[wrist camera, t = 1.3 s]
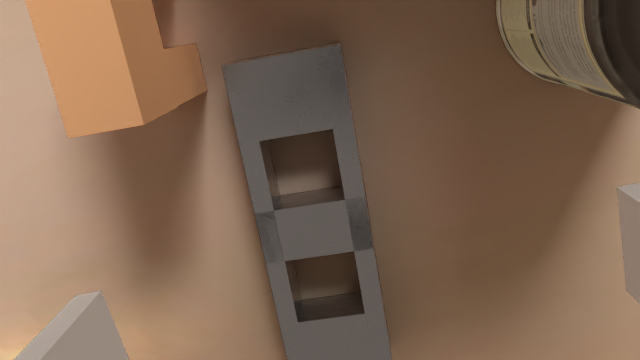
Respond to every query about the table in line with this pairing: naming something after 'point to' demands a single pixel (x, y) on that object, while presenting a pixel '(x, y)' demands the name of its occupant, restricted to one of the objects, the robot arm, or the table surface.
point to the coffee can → (577, 43)
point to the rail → (309, 200)
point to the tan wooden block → (112, 63)
